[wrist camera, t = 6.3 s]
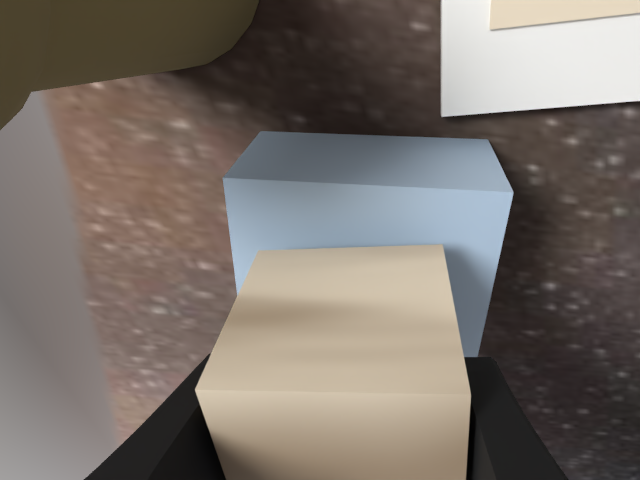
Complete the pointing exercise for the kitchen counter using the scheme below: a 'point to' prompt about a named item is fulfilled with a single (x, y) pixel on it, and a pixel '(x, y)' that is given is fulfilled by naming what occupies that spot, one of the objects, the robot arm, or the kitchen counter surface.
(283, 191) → the blue base block
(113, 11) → the cork
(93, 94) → the kitchen counter surface
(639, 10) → the tile
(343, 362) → the birch block
